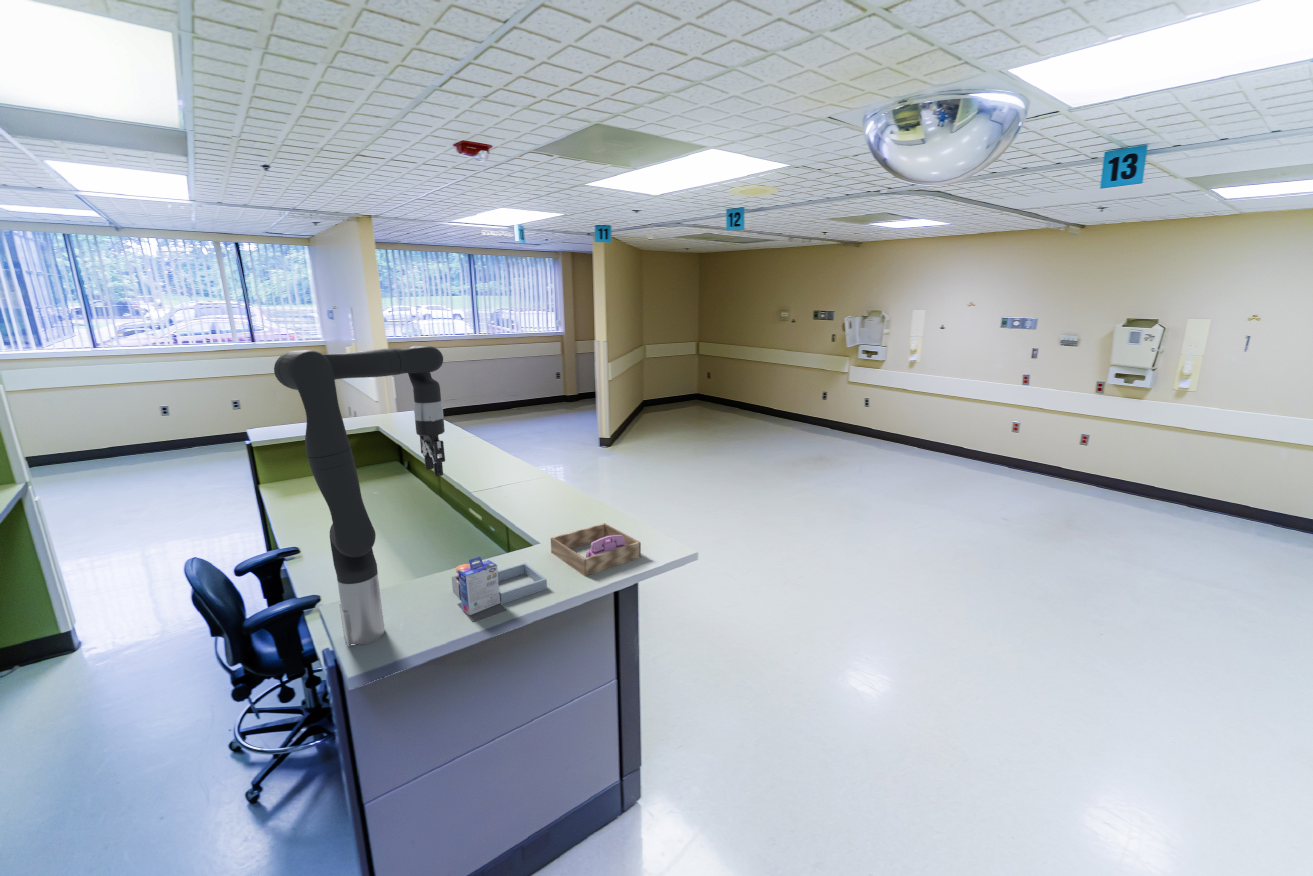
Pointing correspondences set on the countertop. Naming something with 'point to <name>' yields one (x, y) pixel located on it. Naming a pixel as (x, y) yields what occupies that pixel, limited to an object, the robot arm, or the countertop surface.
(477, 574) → the ink cartridge box
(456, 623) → the countertop surface
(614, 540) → the toy telephone
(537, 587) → the collar
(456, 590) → the button housing
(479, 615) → the mat
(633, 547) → the phone corral
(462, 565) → the release button
